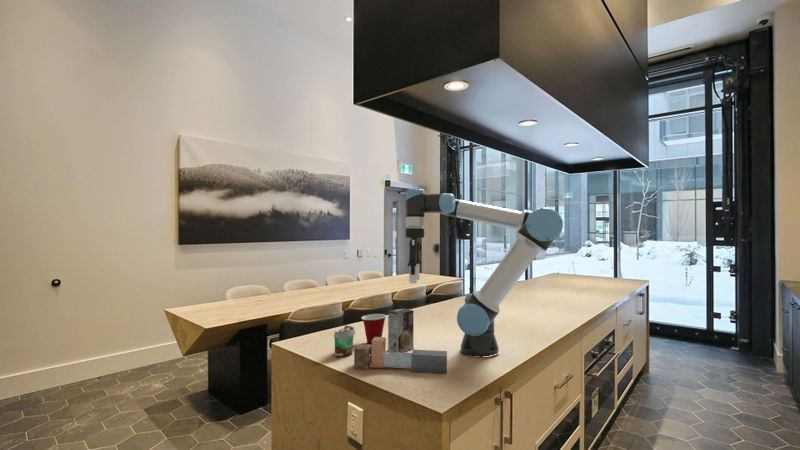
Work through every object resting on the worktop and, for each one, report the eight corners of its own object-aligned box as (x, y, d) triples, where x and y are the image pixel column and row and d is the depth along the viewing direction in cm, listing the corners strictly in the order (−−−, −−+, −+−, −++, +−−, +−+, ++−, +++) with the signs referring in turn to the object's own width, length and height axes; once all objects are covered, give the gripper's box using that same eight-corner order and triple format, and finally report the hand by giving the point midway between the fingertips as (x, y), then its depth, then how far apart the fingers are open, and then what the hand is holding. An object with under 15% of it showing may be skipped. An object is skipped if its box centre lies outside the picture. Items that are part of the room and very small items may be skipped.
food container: (349, 360, 142) (349, 333, 143) (333, 358, 143) (334, 332, 144) (359, 350, 154) (359, 325, 155) (344, 349, 155) (345, 325, 156)
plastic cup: (361, 340, 171) (361, 313, 171) (385, 339, 172) (385, 313, 172) (360, 346, 160) (361, 318, 160) (386, 346, 161) (386, 318, 161)
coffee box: (402, 346, 162) (403, 308, 162) (413, 349, 157) (414, 310, 158) (387, 350, 155) (387, 310, 156) (398, 353, 151) (398, 312, 151)
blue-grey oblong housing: (446, 368, 134) (447, 351, 134) (446, 374, 128) (446, 356, 128) (413, 366, 135) (413, 349, 136) (411, 372, 130) (411, 354, 130)
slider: (422, 365, 135) (423, 339, 135) (421, 369, 130) (422, 342, 130) (362, 362, 137) (363, 336, 138) (359, 366, 132) (360, 339, 133)
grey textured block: (371, 364, 137) (372, 344, 138) (368, 369, 131) (368, 349, 132) (358, 363, 138) (358, 344, 138) (354, 369, 132) (354, 348, 132)
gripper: (408, 228, 164) (408, 278, 164) (401, 226, 140) (401, 284, 139) (426, 229, 163) (425, 278, 163) (422, 226, 139) (421, 285, 138)
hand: (414, 281), depth 151 cm, fingers open, 13 cm apart
